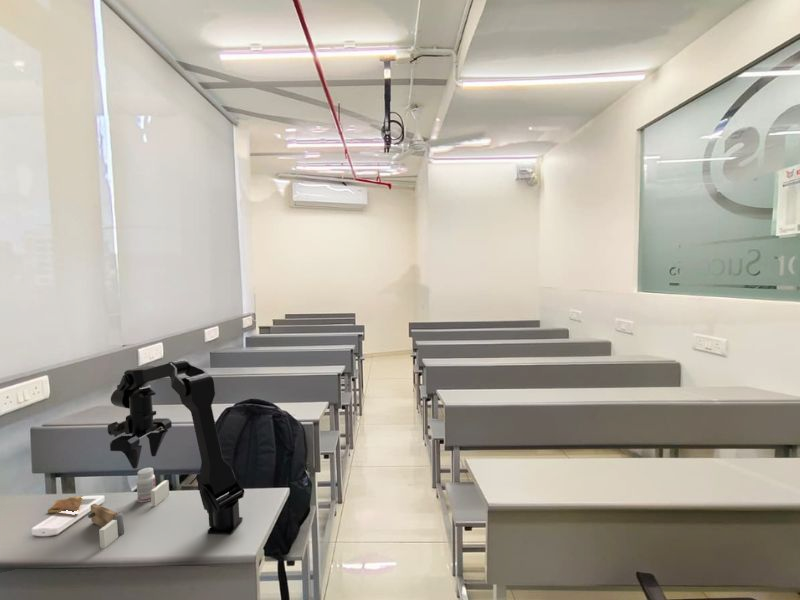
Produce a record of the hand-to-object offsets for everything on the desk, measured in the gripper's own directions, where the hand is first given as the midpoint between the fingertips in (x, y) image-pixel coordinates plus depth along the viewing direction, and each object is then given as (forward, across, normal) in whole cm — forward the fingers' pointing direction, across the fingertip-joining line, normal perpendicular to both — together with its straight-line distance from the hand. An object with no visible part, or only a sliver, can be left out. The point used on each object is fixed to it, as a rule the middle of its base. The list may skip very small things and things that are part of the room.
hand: (144, 462), depth 123 cm
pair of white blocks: (+11, +10, +5) cm, 16 cm away
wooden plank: (+11, +15, -1) cm, 18 cm away
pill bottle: (+11, 0, 0) cm, 11 cm away
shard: (+12, +5, -19) cm, 23 cm away
